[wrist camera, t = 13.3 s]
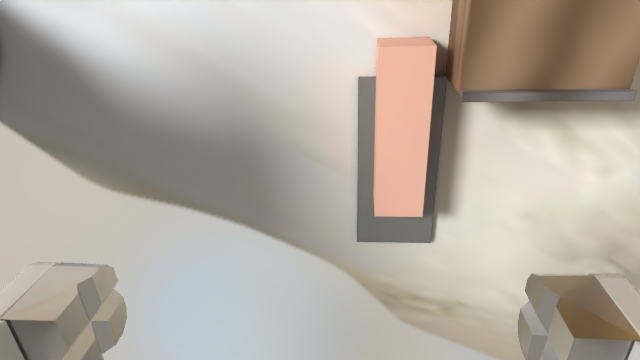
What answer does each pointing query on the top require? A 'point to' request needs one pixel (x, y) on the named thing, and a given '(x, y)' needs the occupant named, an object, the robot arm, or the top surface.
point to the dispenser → (543, 50)
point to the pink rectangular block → (402, 124)
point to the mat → (367, 222)
